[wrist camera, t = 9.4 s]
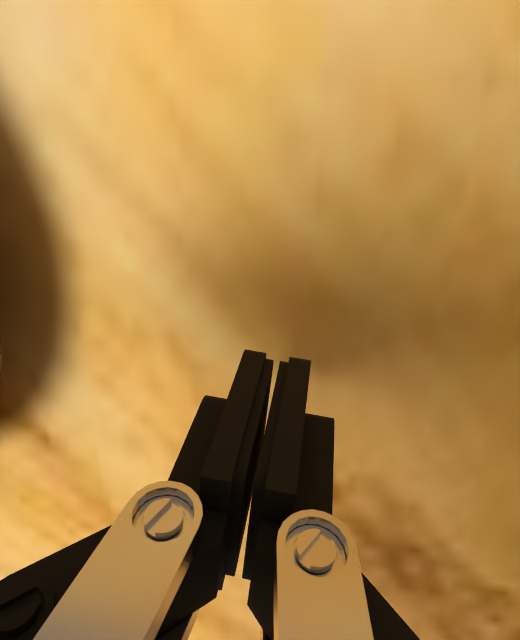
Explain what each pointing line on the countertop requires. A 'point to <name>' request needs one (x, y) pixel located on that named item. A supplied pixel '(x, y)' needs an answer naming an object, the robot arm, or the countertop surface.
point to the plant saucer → (0, 357)
